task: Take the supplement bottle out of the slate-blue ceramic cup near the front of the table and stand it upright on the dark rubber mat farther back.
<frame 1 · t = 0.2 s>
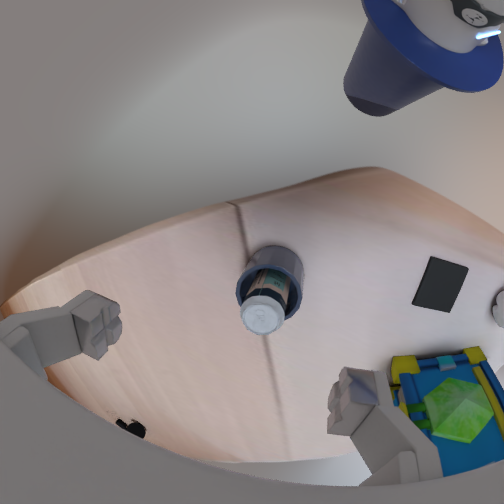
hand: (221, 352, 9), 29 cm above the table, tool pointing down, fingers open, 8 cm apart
supplement bottle: (275, 272, 39), resting on cup
water bottle: (501, 301, 32), on the table
light fixture: (126, 418, 67), on the table
cup: (275, 272, 39), on the table
mat: (440, 285, 34), on the table
decorative book: (434, 370, 39), on the table
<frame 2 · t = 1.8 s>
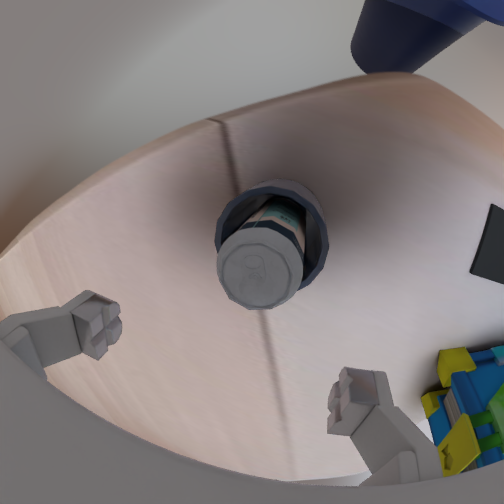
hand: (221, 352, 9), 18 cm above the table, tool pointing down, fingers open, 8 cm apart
supplement bottle: (280, 221, 25), resting on cup
cup: (280, 221, 25), on the table
mat: (501, 247, 20), on the table
decorative book: (482, 366, 26), on the table
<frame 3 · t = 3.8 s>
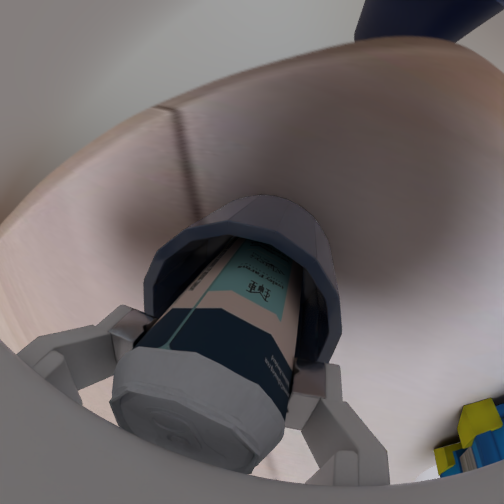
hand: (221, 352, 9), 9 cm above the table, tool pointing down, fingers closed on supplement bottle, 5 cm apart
supplement bottle: (263, 262, 16), resting on cup, touching gripper
cup: (264, 260, 17), on the table
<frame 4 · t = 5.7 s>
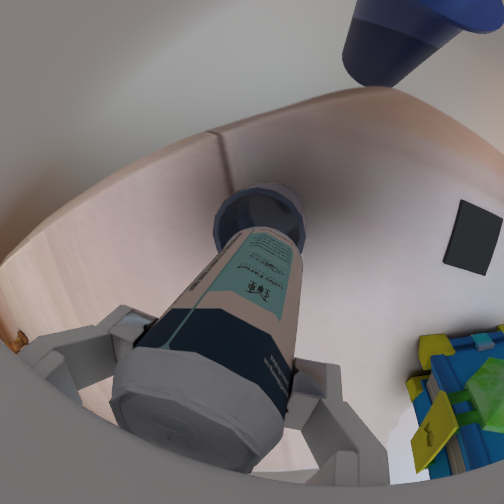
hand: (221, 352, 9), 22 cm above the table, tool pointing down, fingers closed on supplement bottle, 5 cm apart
figurine: (25, 337, 54), on the table
supplement bottle: (263, 262, 16), point 14 cm above the table, touching gripper
cup: (269, 218, 30), on the table
mat: (474, 239, 25), on the table
decorative book: (465, 353, 30), on the table
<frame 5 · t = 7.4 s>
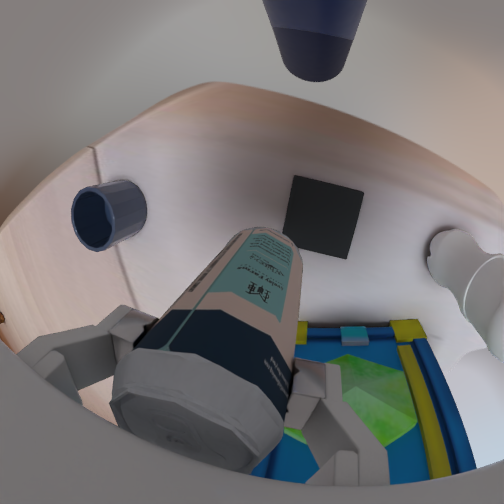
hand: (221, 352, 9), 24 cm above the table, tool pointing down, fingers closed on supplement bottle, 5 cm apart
figurine: (3, 316, 59), on the table
supplement bottle: (263, 262, 16), point 15 cm above the table, touching gripper
water bottle: (444, 251, 28), on the table
cup: (124, 208, 35), on the table
mat: (321, 217, 30), on the table
decorative book: (349, 348, 35), on the table
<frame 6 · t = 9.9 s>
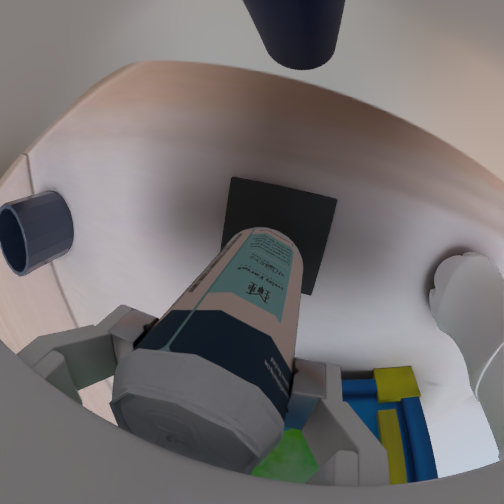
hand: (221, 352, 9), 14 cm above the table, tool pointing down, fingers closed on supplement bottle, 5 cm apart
supplement bottle: (263, 262, 16), point 5 cm above the table, touching gripper
water bottle: (453, 280, 19), on the table
cup: (53, 223, 26), on the table
mat: (274, 236, 21), on the table
decorative book: (320, 398, 27), on the table
when the fingers open (9 cm above the table, at t = 11.5 s): supplement bottle stays where it is, resting on mat.
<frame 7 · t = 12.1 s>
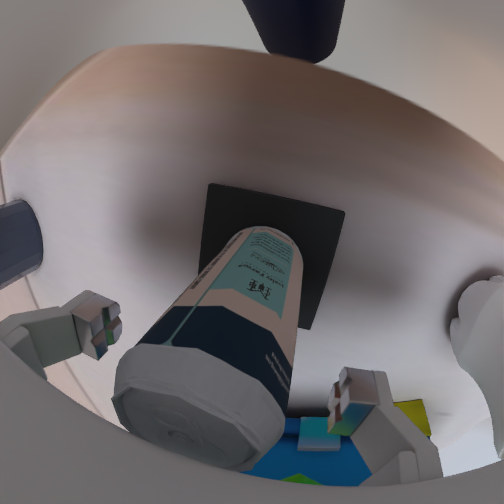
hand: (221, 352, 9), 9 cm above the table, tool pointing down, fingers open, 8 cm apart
supplement bottle: (263, 261, 16), resting on mat
water bottle: (476, 307, 15), on the table
cup: (24, 235, 22), on the table
mat: (264, 258, 17), on the table
decorative book: (318, 432, 22), on the table
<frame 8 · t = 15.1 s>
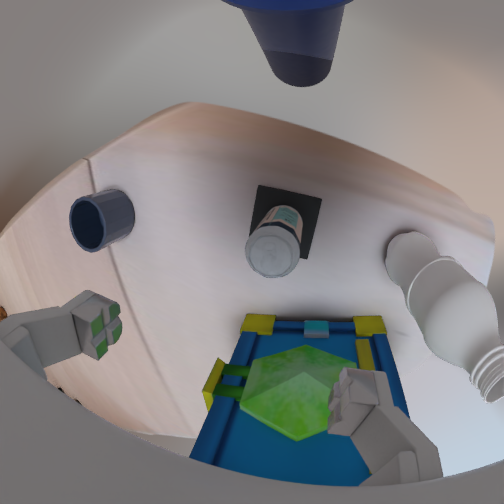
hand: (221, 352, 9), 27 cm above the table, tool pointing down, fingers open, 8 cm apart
figurine: (5, 312, 64), on the table
supplement bottle: (283, 223, 34), resting on mat
water bottle: (404, 252, 32), on the table
cup: (115, 214, 39), on the table
mat: (283, 222, 34), on the table
decorative book: (316, 341, 40), on the table
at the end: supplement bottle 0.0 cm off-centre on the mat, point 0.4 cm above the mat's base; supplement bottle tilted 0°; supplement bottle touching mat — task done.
